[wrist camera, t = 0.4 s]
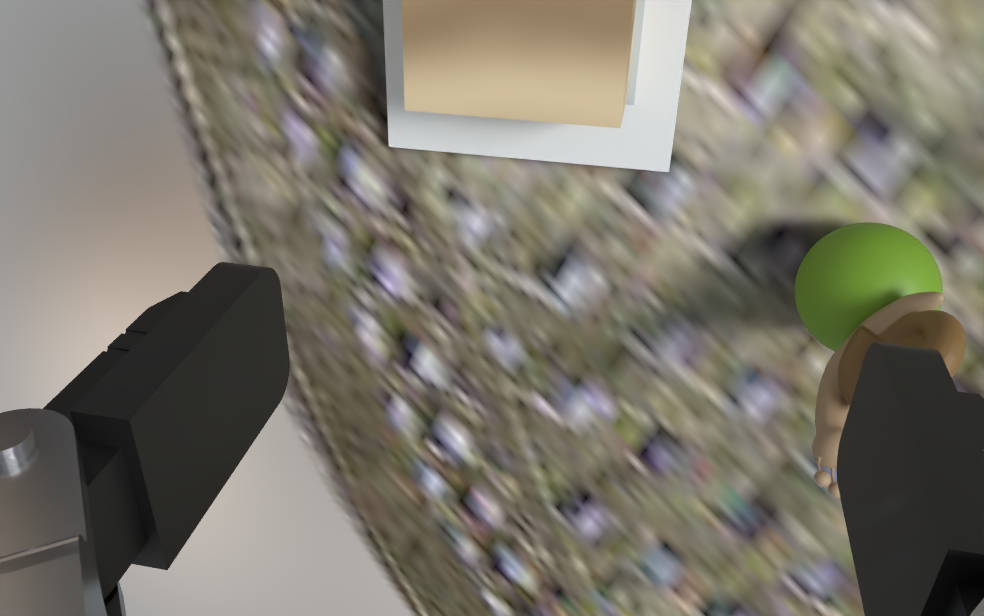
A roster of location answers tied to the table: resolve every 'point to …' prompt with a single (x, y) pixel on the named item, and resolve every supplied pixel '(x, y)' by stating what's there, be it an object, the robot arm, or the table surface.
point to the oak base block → (519, 59)
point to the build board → (626, 147)
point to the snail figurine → (868, 316)
